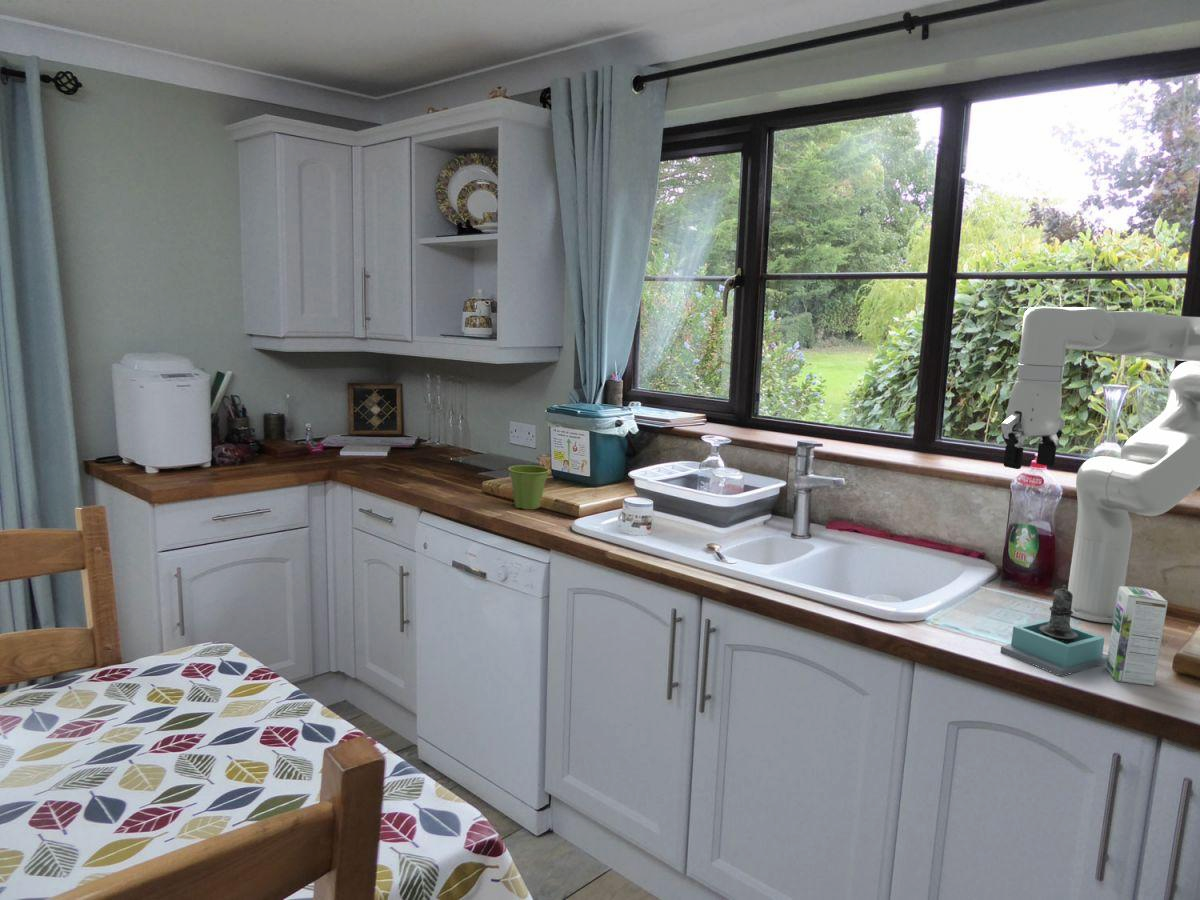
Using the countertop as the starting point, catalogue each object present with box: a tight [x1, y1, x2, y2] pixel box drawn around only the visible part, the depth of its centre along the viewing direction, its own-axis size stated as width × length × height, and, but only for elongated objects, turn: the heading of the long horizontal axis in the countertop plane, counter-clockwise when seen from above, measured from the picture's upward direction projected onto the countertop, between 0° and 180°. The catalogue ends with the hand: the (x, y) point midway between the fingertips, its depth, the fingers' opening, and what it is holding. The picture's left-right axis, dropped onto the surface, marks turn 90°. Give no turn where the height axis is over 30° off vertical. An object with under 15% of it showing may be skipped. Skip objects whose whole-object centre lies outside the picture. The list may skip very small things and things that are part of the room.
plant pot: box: [507, 464, 551, 511], centre depth 240 cm, size 12×12×11 cm
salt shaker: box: [1039, 584, 1078, 644], centre depth 143 cm, size 6×6×12 cm
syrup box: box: [1105, 586, 1169, 687], centre depth 136 cm, size 6×6×14 cm
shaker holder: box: [1000, 618, 1108, 677], centre depth 144 cm, size 14×11×4 cm
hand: (1028, 466), depth 157 cm, fingers open, 9 cm apart
